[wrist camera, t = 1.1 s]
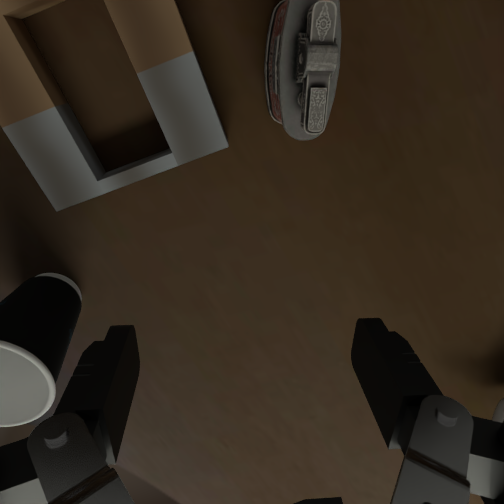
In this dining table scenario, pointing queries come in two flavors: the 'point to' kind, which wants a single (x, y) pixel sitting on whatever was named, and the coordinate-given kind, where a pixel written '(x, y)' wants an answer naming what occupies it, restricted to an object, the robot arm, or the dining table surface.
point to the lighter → (302, 64)
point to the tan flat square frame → (66, 124)
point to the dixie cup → (34, 344)
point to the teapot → (499, 412)
